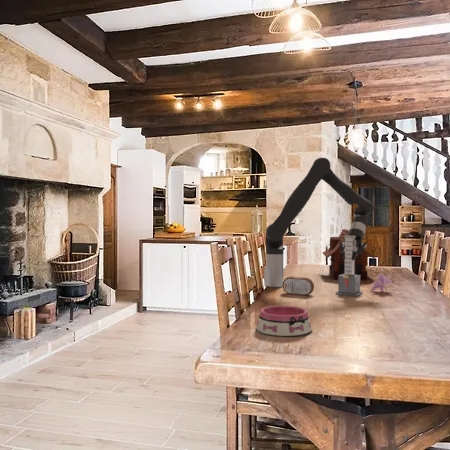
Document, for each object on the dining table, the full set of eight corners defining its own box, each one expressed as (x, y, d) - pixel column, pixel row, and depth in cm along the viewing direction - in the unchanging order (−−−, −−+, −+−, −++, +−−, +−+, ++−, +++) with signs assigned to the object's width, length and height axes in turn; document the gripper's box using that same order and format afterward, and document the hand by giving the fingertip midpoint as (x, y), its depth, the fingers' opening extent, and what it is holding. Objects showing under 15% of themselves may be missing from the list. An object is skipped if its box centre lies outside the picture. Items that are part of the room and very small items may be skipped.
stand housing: (355, 296, 214) (356, 276, 214) (335, 294, 220) (335, 274, 220) (362, 293, 223) (362, 274, 223) (342, 291, 229) (342, 272, 228)
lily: (396, 293, 230) (388, 275, 233) (400, 288, 219) (392, 269, 223) (373, 300, 230) (365, 282, 234) (376, 295, 219) (368, 276, 223)
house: (321, 272, 301) (322, 228, 300) (366, 273, 297) (366, 229, 297) (326, 280, 266) (326, 230, 266) (376, 281, 263) (377, 231, 262)
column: (352, 288, 219) (352, 235, 218) (343, 287, 221) (343, 235, 220) (355, 287, 222) (355, 235, 222) (346, 286, 225) (346, 235, 224)
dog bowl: (273, 340, 141) (273, 318, 140) (246, 326, 158) (246, 306, 157) (323, 334, 148) (323, 313, 148) (292, 321, 165) (292, 303, 165)
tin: (314, 295, 218) (314, 277, 217) (312, 296, 215) (312, 278, 215) (283, 292, 224) (283, 275, 224) (281, 293, 221) (281, 276, 221)
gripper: (341, 227, 231) (332, 253, 221) (369, 228, 223) (361, 254, 213) (344, 237, 236) (335, 263, 226) (372, 238, 228) (364, 265, 218)
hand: (348, 258), depth 220 cm, fingers closed on column, 3 cm apart
